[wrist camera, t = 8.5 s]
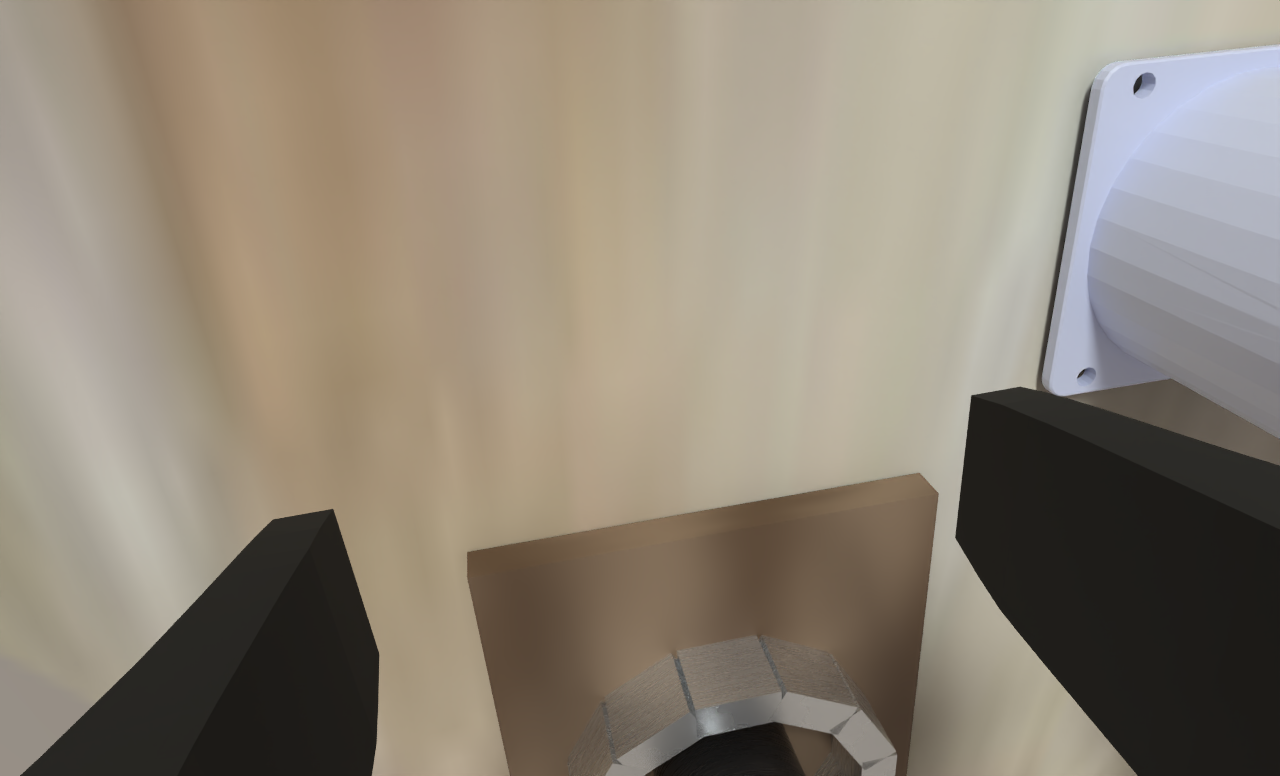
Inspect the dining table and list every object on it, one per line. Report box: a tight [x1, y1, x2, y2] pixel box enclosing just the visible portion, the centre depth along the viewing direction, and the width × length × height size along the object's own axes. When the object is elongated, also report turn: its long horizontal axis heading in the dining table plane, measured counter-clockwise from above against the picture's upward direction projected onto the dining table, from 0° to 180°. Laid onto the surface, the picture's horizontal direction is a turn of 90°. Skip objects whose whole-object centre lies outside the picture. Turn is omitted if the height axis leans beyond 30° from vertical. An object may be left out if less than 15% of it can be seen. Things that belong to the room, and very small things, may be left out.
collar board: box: [467, 473, 939, 776], centre depth 23 cm, size 12×16×3 cm
